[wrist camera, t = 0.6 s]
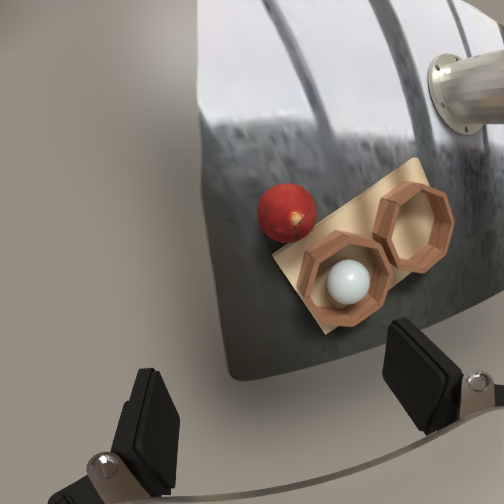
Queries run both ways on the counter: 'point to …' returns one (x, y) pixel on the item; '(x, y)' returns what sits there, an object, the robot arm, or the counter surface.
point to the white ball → (348, 282)
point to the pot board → (362, 224)
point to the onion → (287, 213)
